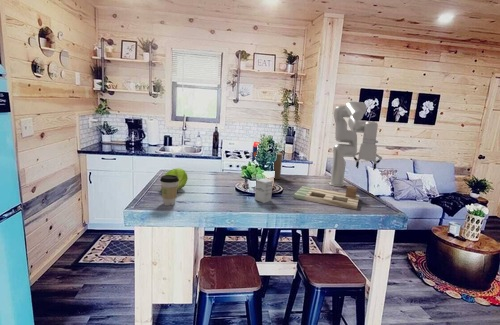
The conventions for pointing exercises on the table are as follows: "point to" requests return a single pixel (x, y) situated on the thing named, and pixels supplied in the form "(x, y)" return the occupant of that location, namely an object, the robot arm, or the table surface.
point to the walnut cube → (351, 191)
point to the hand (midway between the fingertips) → (365, 169)
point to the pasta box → (254, 150)
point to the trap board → (326, 197)
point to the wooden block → (278, 166)
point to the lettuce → (179, 176)
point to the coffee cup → (169, 189)
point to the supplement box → (263, 190)
